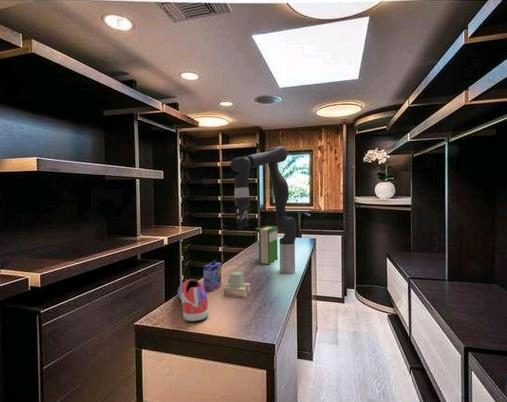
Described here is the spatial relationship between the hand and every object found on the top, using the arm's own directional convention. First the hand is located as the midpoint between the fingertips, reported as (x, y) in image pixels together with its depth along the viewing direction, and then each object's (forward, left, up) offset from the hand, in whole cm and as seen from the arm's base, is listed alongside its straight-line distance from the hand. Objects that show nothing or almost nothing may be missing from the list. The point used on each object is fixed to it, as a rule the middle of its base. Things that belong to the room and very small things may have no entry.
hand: (243, 228), depth 148 cm
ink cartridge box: (+7, -14, -30) cm, 34 cm away
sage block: (+11, 0, -26) cm, 29 cm away
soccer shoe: (+31, -12, -31) cm, 45 cm away
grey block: (0, -4, -30) cm, 31 cm away
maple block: (+11, 0, -30) cm, 32 cm away
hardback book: (-55, -2, -30) cm, 63 cm away
